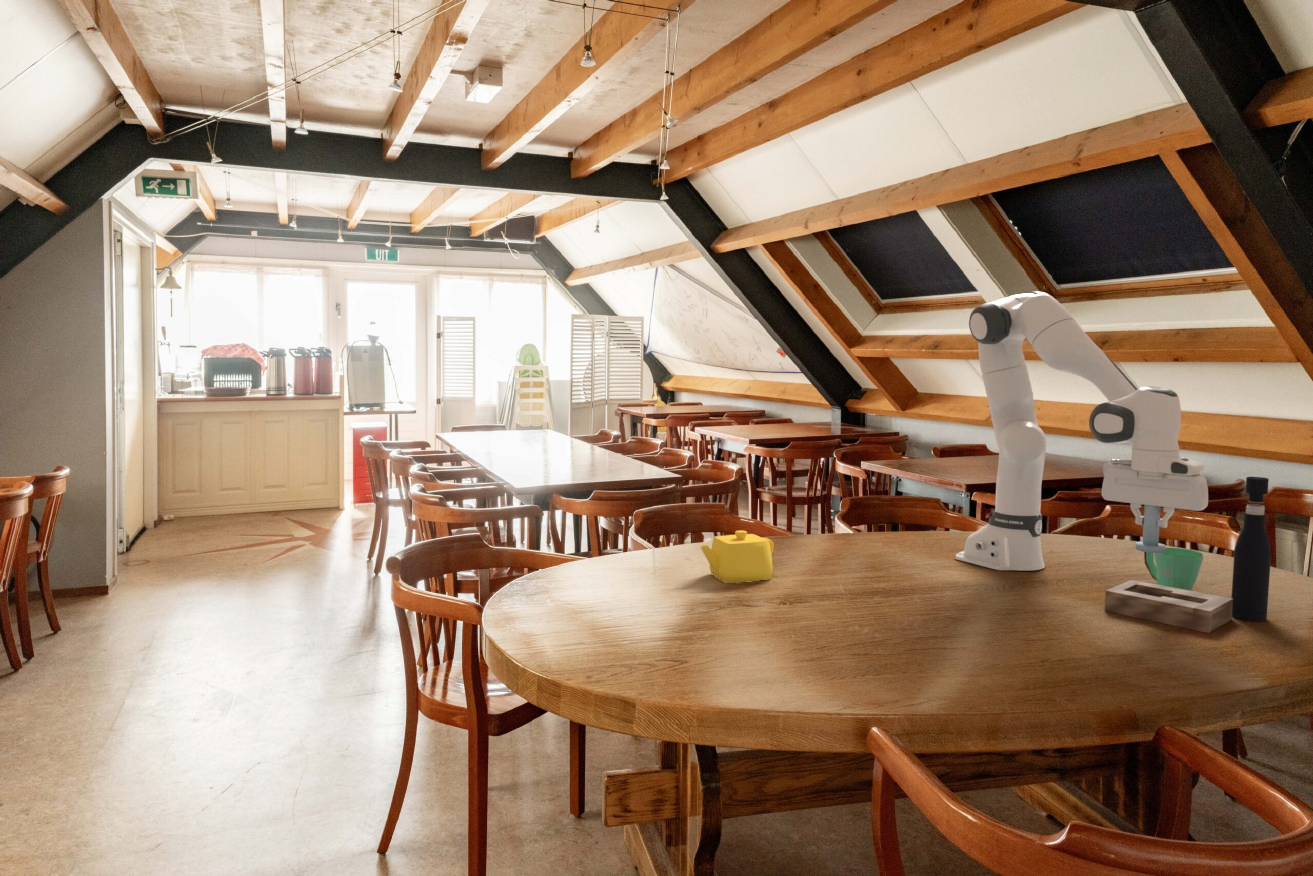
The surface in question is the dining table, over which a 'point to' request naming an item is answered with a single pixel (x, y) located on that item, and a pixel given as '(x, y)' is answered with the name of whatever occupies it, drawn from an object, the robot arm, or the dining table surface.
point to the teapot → (740, 557)
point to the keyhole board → (1169, 605)
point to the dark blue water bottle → (1252, 558)
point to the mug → (1175, 567)
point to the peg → (1151, 531)
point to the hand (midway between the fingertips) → (1151, 525)
